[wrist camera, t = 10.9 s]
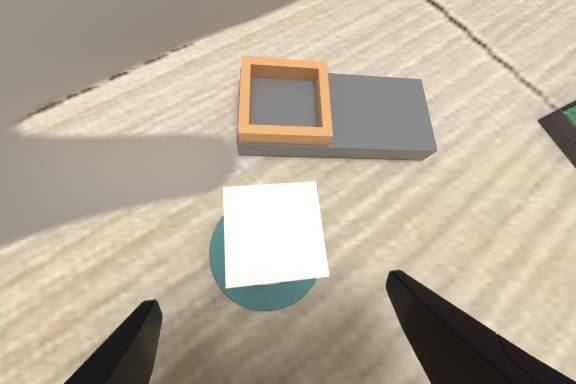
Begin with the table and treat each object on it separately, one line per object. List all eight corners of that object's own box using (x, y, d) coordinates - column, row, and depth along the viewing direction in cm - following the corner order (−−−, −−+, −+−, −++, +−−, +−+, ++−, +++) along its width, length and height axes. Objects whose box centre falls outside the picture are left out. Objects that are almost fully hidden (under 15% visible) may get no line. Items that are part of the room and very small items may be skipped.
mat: (281, 335, 18) (282, 337, 18) (186, 265, 19) (184, 265, 18) (340, 235, 21) (342, 234, 20) (255, 177, 22) (255, 175, 21)
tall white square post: (235, 287, 18) (209, 307, 9) (233, 219, 20) (208, 174, 10) (303, 279, 19) (346, 291, 10) (296, 214, 21) (326, 168, 11)
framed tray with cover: (239, 155, 22) (235, 135, 19) (242, 83, 25) (239, 54, 21) (423, 160, 24) (449, 142, 21) (409, 92, 27) (431, 67, 23)
